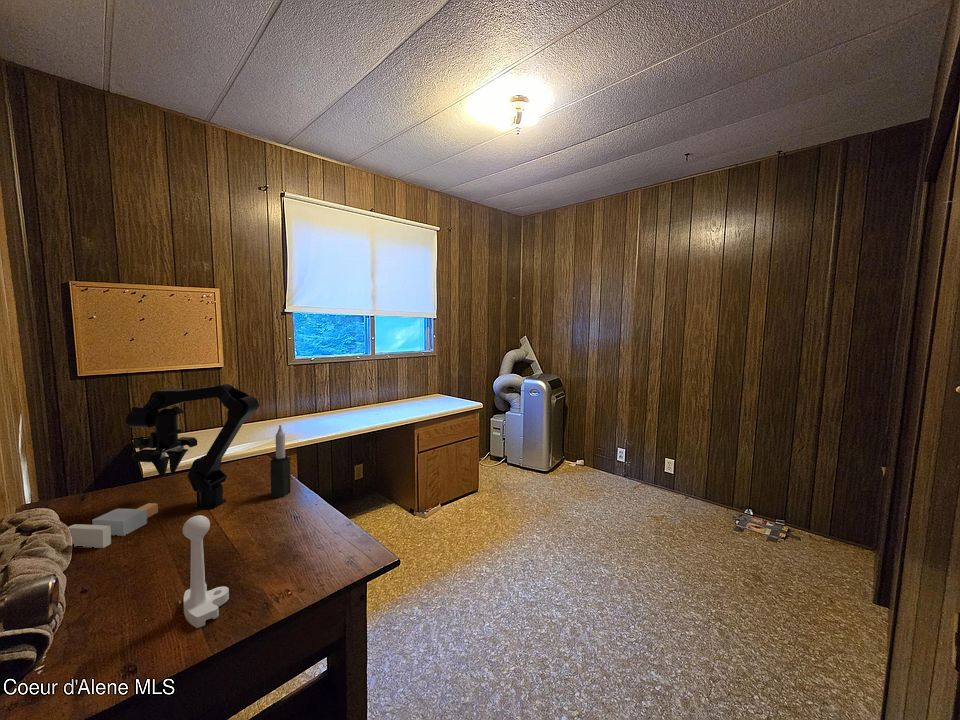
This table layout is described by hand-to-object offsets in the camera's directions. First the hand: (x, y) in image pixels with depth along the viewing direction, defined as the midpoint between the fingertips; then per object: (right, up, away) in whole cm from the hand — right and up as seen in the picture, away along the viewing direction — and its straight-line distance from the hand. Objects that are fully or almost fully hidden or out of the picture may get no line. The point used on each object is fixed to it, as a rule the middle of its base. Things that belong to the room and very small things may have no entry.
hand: (167, 474), depth 124 cm
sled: (-1, -11, -15) cm, 19 cm away
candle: (+32, -10, +10) cm, 35 cm away
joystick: (+46, -14, -45) cm, 66 cm away
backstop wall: (-1, -12, -24) cm, 26 cm away
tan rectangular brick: (-1, -11, -8) cm, 13 cm away
